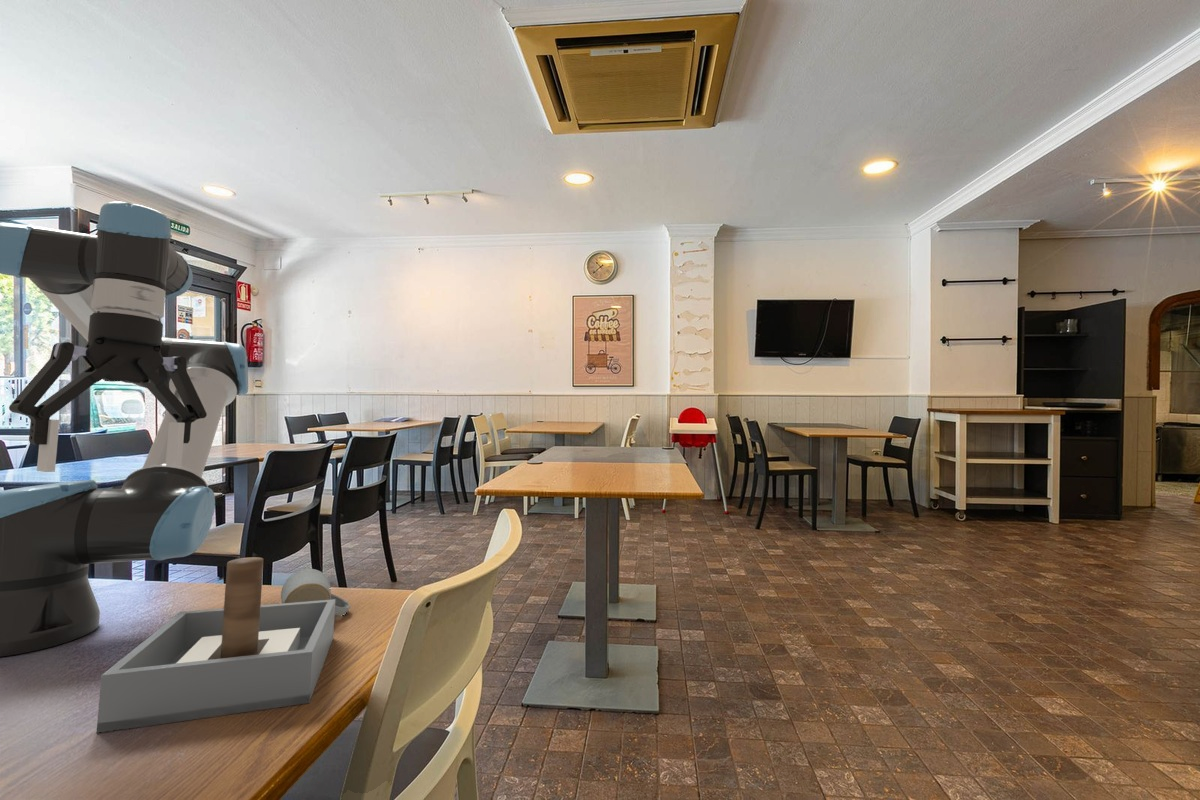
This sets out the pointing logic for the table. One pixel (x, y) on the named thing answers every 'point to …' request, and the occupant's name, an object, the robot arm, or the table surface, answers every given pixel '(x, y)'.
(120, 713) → the grey box
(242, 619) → the walnut peg
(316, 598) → the ceramic mug
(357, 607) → the table surface
